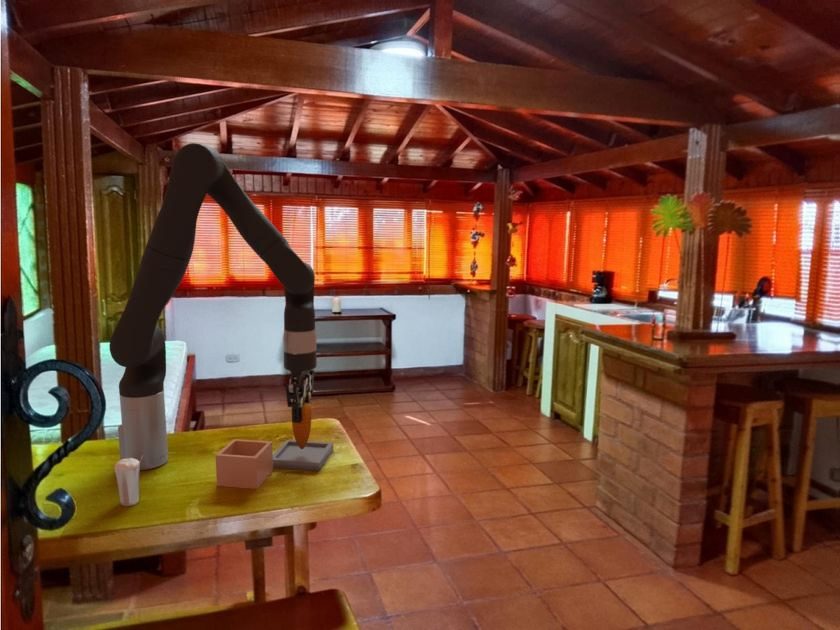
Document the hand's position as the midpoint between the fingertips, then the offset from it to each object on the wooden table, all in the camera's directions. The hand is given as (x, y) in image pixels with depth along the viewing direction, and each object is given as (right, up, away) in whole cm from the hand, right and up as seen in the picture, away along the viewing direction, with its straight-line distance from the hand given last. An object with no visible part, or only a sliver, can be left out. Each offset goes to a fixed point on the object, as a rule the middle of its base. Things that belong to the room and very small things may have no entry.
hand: (301, 417), depth 139 cm
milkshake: (-30, -14, -20) cm, 39 cm away
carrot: (0, -8, +1) cm, 8 cm away
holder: (-11, -12, -9) cm, 18 cm away
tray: (0, -10, +2) cm, 10 cm away
